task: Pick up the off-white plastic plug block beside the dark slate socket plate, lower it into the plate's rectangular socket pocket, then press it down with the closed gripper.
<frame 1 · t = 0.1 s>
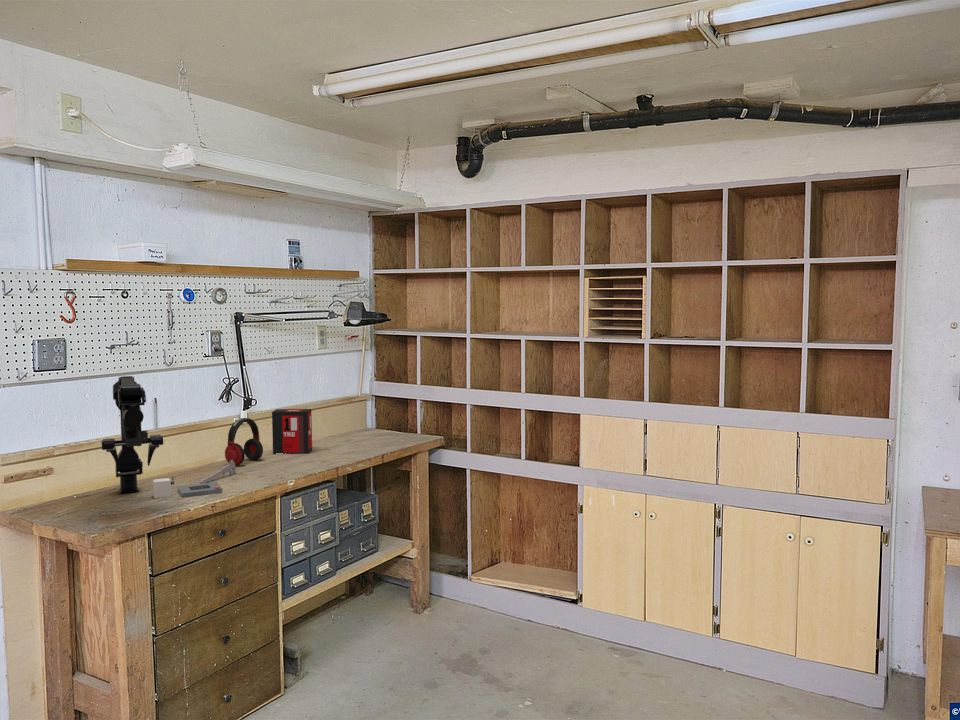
hand: (133, 467, 246), 15 cm above the workbench, fingers open, 9 cm apart
caliper: (217, 480, 290), on the workbench
headphones: (244, 463, 320), on the workbench
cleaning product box: (292, 452, 344), on the workbench
socket: (199, 491, 271), on the workbench
plug: (162, 496, 264), on the workbench
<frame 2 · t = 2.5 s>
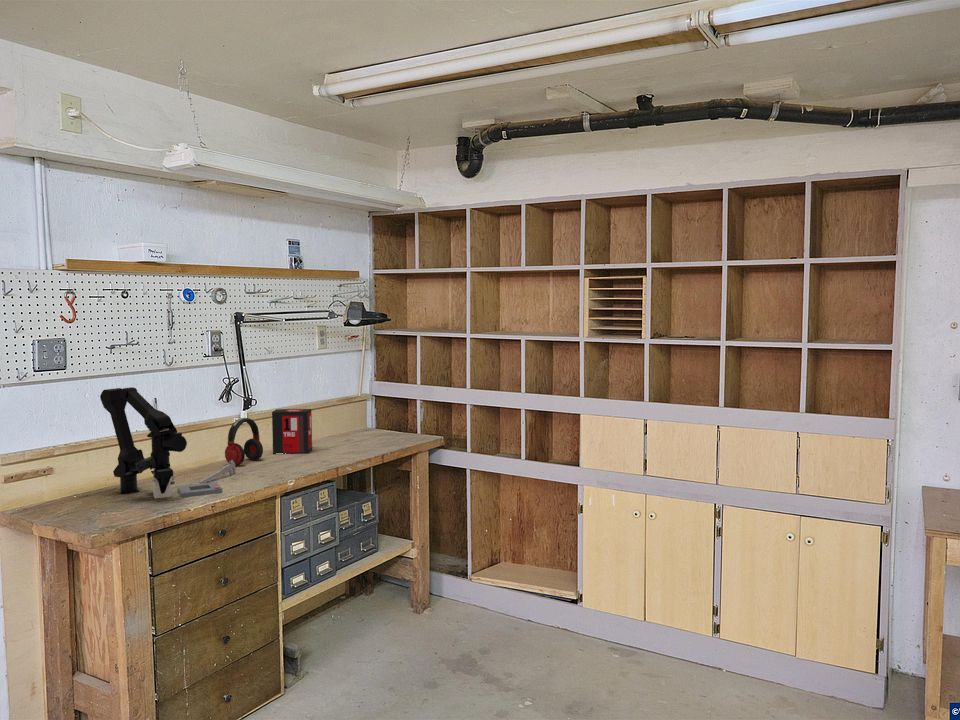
hand: (162, 491, 264), 2 cm above the workbench, fingers closed on plug, 4 cm apart
plug: (162, 496, 264), on the workbench, touching gripper
everything else where it was.
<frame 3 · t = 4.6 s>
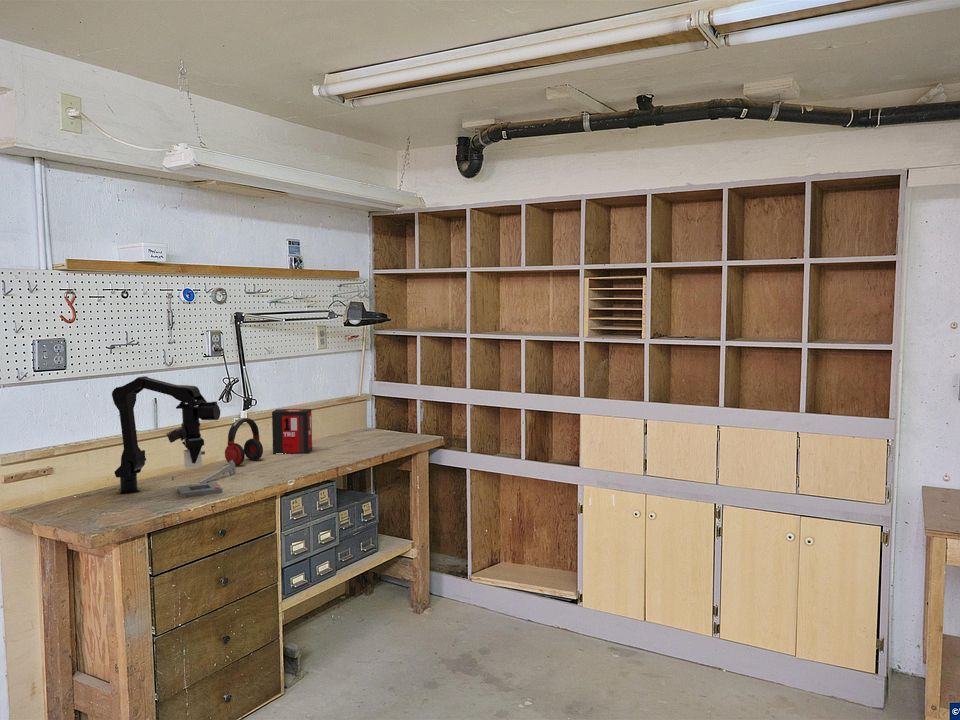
hand: (193, 461, 269), 11 cm above the workbench, fingers closed on plug, 4 cm apart
plug: (193, 466, 269), point 10 cm above the workbench, touching gripper
everything else where it was.
when the fingers open (3 cm above the workbench, at t = 6.6 s): plug drops 2 cm, resting in socket.
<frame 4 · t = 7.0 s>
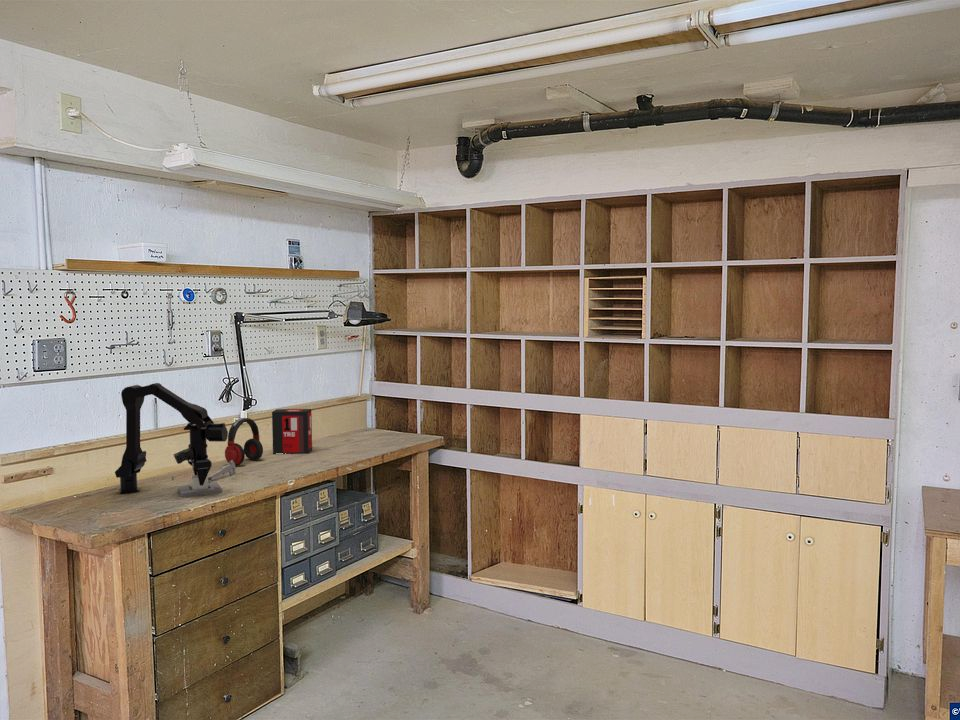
hand: (199, 482, 270), 3 cm above the workbench, fingers open, 9 cm apart
plug: (199, 491, 271), resting in socket
everything else where it was.
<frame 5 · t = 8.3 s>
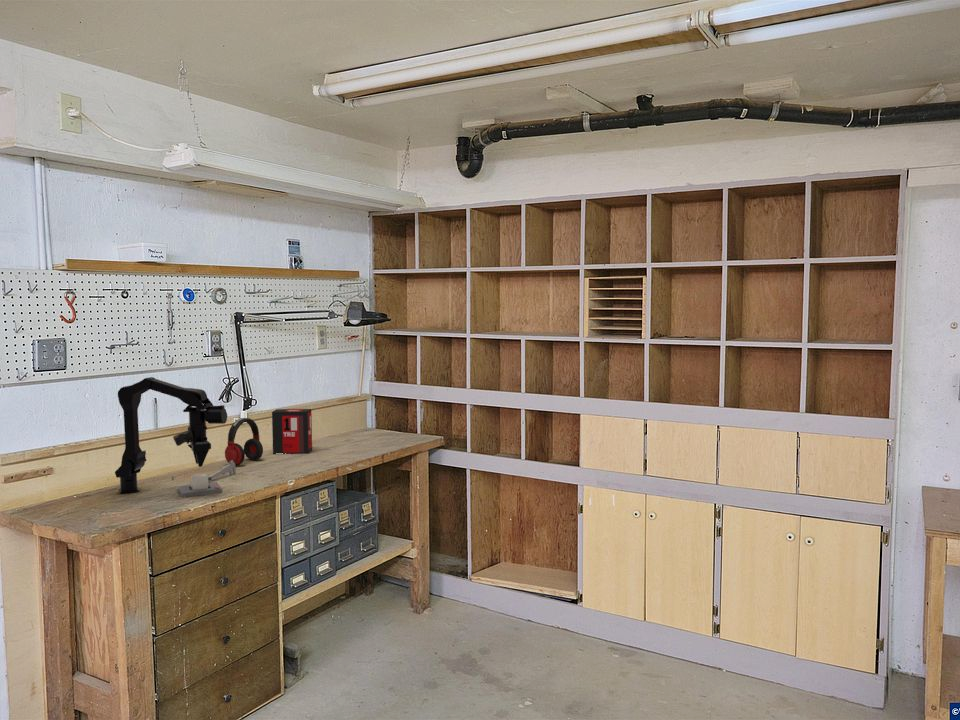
hand: (199, 465, 270), 10 cm above the workbench, fingers open, 6 cm apart
nothing on the workbench moved.
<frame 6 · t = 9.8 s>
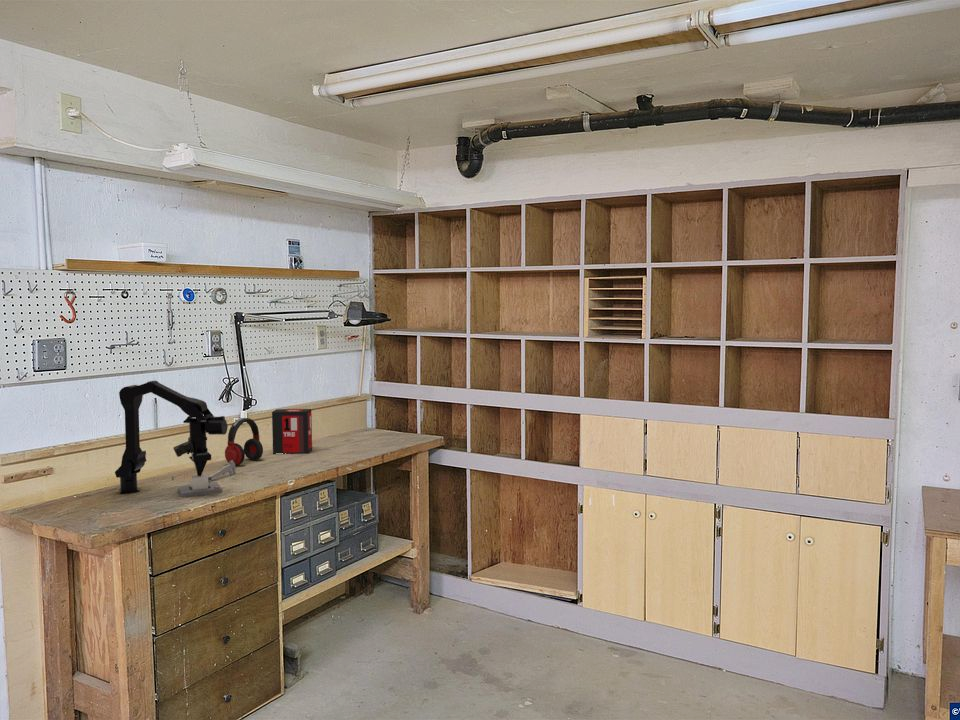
hand: (199, 475, 270), 6 cm above the workbench, fingers closed, pressing on plug
plug: (199, 491, 271), resting in socket, touching gripper
everything else where it was.
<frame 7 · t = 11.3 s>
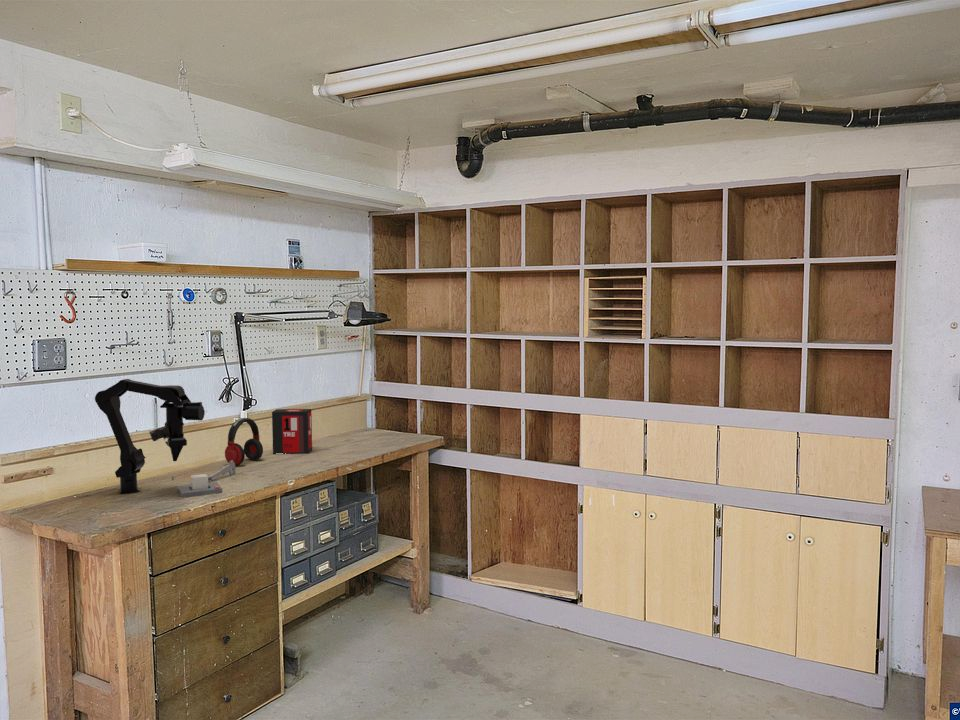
hand: (174, 461, 271), 11 cm above the workbench, fingers closed
plug: (199, 491, 271), resting in socket
everything else where it was.
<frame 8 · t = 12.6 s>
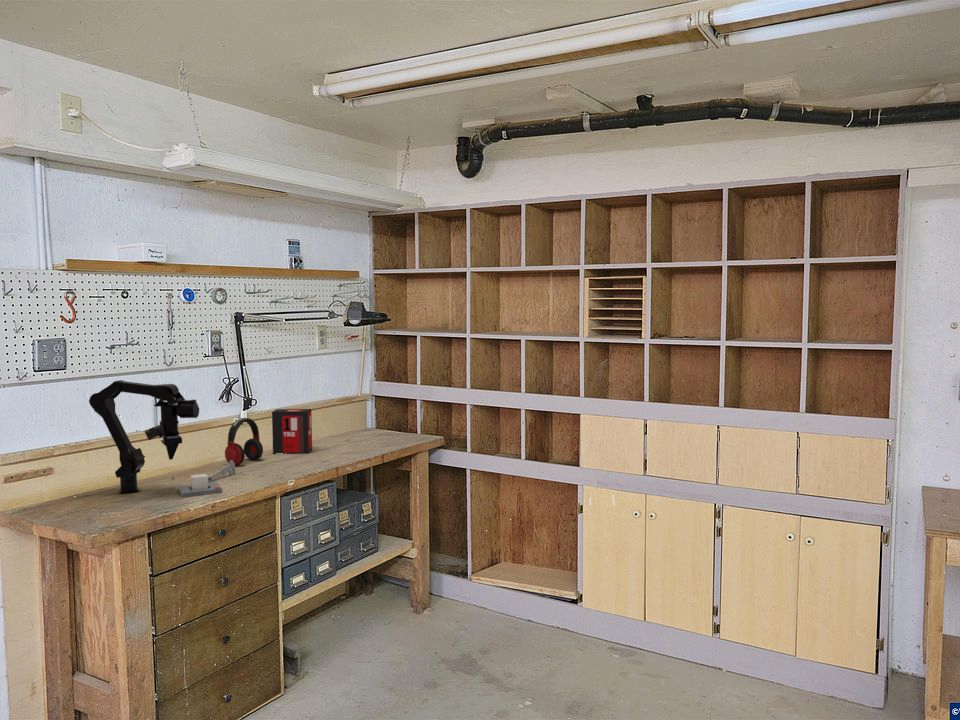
hand: (170, 459, 271), 12 cm above the workbench, fingers closed
nothing on the workbench moved.
at the end: plug 0.0 cm off-centre on the socket, point 0.0 cm above the socket's base; plug tilted 0°; the gripper is holding nothing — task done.
